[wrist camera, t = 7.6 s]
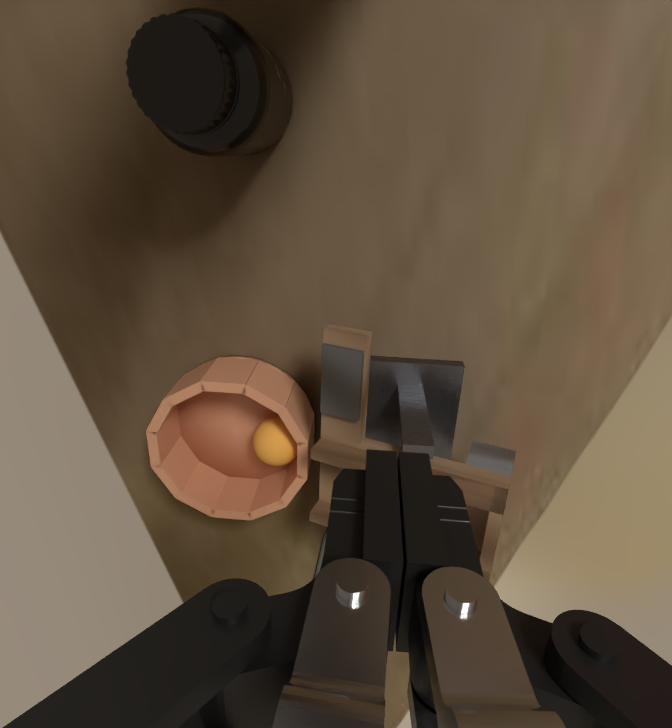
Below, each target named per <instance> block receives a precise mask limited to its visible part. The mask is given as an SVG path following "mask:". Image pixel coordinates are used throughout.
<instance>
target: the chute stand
mask: <svg viewBox="0 0 672 728" xmlns="http://www.w3.org/2000/svg"><path fill="white" fill-rule="evenodd" d="M463 374H464V364H463V362H461V361H445V360H429V359H413V358H397V357H381V356H371V358H370V372H369V386H368V401H367V415H366V430H365V438H369V439H372V440H376V441H380V442H384V443H387V444H391V445H395V446H399V447H401V451H402V452H416V453H428V454H429V457H430V459H431V460H433V456H437V457H440V458H444V459H448V460H450V458H451V452H452V445H453V439H454V432H455V426H456V419H457V413H458V406H459V400H460V393H461V387H462V380H463Z"/></svg>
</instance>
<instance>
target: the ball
mask: <svg viewBox="0 0 672 728" xmlns="http://www.w3.org/2000/svg"><path fill="white" fill-rule="evenodd" d="M253 446H254V450H255V452H256V454H257V456H258V457H259V458H260V459H261V460H262V461H263V462H265V463H267V464H269V465H274V466H281V465H285V464H287V463H289V462H291V461H292V460H293V459H295V458H296V456H297V443H296V441H295V440H294V438H293V437H292V435H291V433H290V432H289V430H288V429H287V427H286V426H285V424H284V422H283V421H282V419H281V418H280V417H271V418H268V419H266V420H265V421H263V422H262V423H261V424H260V425H259V426H258V427H257V429H256V431H255V433H254V437H253Z"/></svg>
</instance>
